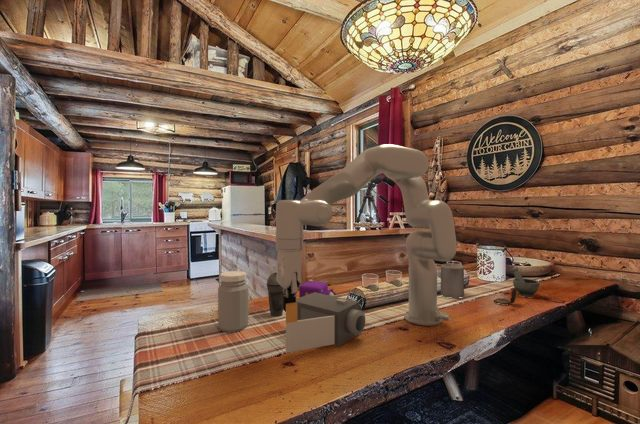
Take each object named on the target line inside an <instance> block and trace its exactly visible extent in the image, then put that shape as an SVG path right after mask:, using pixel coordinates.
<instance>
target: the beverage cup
mask: <svg viewBox="0 0 640 424" xmlns="http://www.w3.org/2000/svg"><path fill="white" fill-rule="evenodd" d="M276 276H277V272H273V273H271V274H270V275H269V276H268V278H267V281H266V287H267V288H266V289H267V292H268V293H267V294H268V303H269V313H270V316H271V317H275V318H276V317H281V316H283V313H284V310H283V296H284V295H283V287H282V286H280V284H279V283H278V282H277V280H276Z"/></svg>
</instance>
